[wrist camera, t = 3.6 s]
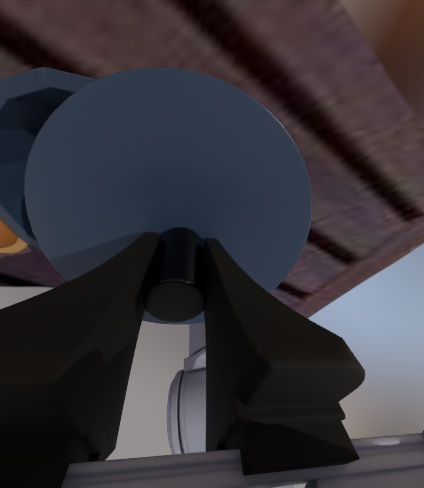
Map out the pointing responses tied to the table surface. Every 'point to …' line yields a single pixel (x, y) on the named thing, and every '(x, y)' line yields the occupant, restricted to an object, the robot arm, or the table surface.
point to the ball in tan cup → (10, 240)
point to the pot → (27, 134)
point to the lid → (168, 184)
